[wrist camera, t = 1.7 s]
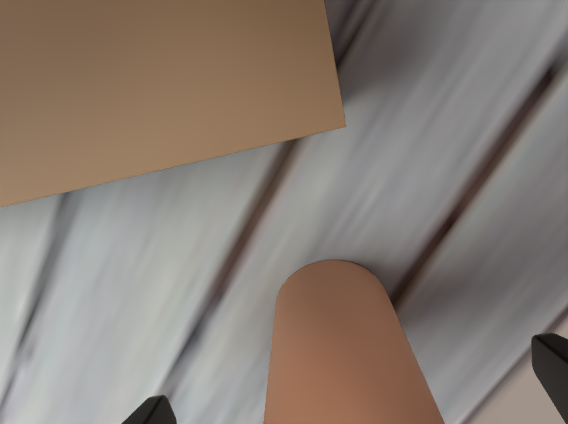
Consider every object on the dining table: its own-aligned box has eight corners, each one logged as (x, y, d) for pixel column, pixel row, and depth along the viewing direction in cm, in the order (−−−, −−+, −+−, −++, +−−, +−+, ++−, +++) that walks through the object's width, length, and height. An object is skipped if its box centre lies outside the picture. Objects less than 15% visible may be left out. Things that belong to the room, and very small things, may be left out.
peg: (396, 347, 12) (582, 824, 4) (289, 365, 12) (275, 830, 4) (380, 249, 11) (592, 651, 3) (263, 272, 11) (184, 679, 3)
